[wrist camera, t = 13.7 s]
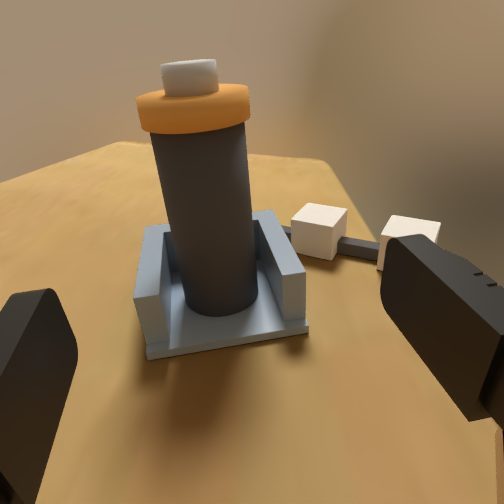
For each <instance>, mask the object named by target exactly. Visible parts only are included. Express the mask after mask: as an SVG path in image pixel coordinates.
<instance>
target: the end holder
mask: <svg viewBox="0 0 504 504" xmlns="http://www.w3.org/2000/svg"><path fill="white" fill-rule="evenodd" d="M252 219H253V231H254V243H255V255H256V267H257V279H258V296H257V298H256V300H255V301H254V302H253V303H252V304H251V305H250V306H249V307H248V308H246V309H244V310H243V311H241V312H238V313H236V314H232V315H229V316H222V317H209V316H204V315H200V314H198V313H196V312H194V311H192V310H191V309H190V308H189V307H188V305H187V304H186V300H185V296H184V291H183V286H182V282H181V277H180V272H179V268H178V263H177V258H176V253H175V249H174V244H173V239H172V235H171V230H170V225H169V223H167V224H159V225H152V226H145V231H144V237H143V243H142V249H141V255H140V261H139V267H138V272H137V278H136V284H135V290H134V296H133V300H134V303H135V307H136V310H137V314H138V317H139V320H140V324H141V327H142V331H143V334H144V338H145V341H146V344H147V346H146V356H147V359H148V360H153V359H159V358H165V357H171V356H176V355H182V354H188V353H194V352H200V351H205V350H211V349H217V348H223V347H228V346H234V345H240V344H246V343H252V342H257V341H263V340H269V339H275V338H281V337H286V336H292V335H298V334H304V333H309V325H308V323H307V320H306V318H305V310H306V271H305V269H304V267H303V266H302V264H301V262H300V260H299V258H298V256H297V254H296V252H295V251H294V249H293V247H292V245H291V243H290V241H289V239H288V238H287V236H286V234H285V232H284V230H283V228H282V226H281V225H280V223H279V221H278V219H277V217H276V215H275V213H274V211H273V210H264V211H257V212H252Z"/></svg>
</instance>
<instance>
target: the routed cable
mask: <svg viewBox="0 0 504 504" xmlns="http://www.w3.org/2000/svg"><path fill="white" fill-rule="evenodd" d="M347 210H348V209H344V208H338V207H332V206H326V205H319V204H313V203H307V204H306V205H305V206H304V207H303V208H302V209H301V210H300V211H299V212H298V213H297V214H296V215H295V216H294V217H293V218H292V219H291V227H287V226H282V225H281V226H282V228H283V230H284V232H285V234H286V236H287V238H288V239H289V241H290V243H291V245H292V247H293V249H294V251H295V252H296V253H300V254H304V255H308V256H313V257H317V258H321V259H326V260H330V261H331V260H332V259H333V258H334V256H335V255H336V253H339V254H344V255H349V256H354V257H359V258H364V259H369V260H374V261H377V269H376V270H381V271H383V265H384V258H385V250H386V245H387V242H388V241H389V239H391V238H394V237H401V236H408V235H414V234H423V235H425V236H427V237H428V238H429V239H430V240H431V241H433V242H434V243H435V244H436V243H437V238H438V234H439V229H440V224H441V223H440V222H434V221H427V220H421V219H415V218H409V217H402V216H396V215H392V216H391V218H390V219H389V221H388V223H387V225H386V226H385V228H384V230H383V232H382V234H381V238H380V243H377V242H371V241H365V240H360V239H354V238H349V237H346V224H347Z"/></svg>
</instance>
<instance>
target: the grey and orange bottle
mask: <svg viewBox="0 0 504 504" xmlns="http://www.w3.org/2000/svg"><path fill="white" fill-rule="evenodd" d="M160 68H161V74H162V79H163V85H164V90H159V91H154V92H151V93H146V94H143V95H140V96H138V97H137V98H136V99H135V100H136V104H137V109H138V113H139V118H140V122H141V127H142V129H143V130H144V131H147V132H150V136H151V141H152V146H153V151H154V155H155V160H156V165H157V169H158V174H159V179H160V183H161V188H162V193H163V197H164V202H165V207H166V211H167V216H168V221H169V225H170V230H171V235H172V239H173V244H174V249H175V253H176V258H177V263H178V268H179V272H180V277H181V282H182V286H183V291H184V296H185V300H186V304H187V305H188V307H189V308H190V309H191V310H192V311H194V312H196V313H198V314H200V315H204V316H209V317H222V316H229V315H232V314H236V313H238V312H241V311H243V310H244V309H246V308H248V307H249V306H250V305H251V304H252V303H253V302H254V301H255V300H256V298H257V296H258V279H257V267H256V255H255V243H254V231H253V219H252V207H251V196H250V184H249V172H248V160H247V149H246V136H245V124H244V121H246V120H248V119H249V118H250V105H249V92H248V87H247V86H245V85H240V84H218V76H217V66H216V60H215V59H205V60H191V61H180V62H172V63H166V64H162V65H160Z"/></svg>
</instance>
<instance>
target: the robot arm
mask: <svg viewBox="0 0 504 504" xmlns="http://www.w3.org/2000/svg"><path fill="white" fill-rule="evenodd" d="M380 295H381V300H382V304H383V307H384V309H385V311H386V312H387V314H388V315H389V317H390V318H391V319H392V321H393V322H394V323H395V324H396V326H397V327H398V328H399V330H400V331H401V332H402V334H403V335H404V336H405V338H406V339H407V340H408V342H409V343H410V344H411V346H412V347H413V348H414V350H415V351H416V352H417V354H418V355H419V356H420V358H421V359H422V360H423V362H424V363H425V364H426V366H427V367H428V368H429V370H430V371H431V372H432V374H433V375H434V376H435V378H436V379H437V380H438V382H439V383H440V384H441V385H442V387H443V388H444V389H445V391H446V392H447V393H448V395H449V396H450V397H451V399H452V400H453V401H454V403H455V404H456V405H457V407H458V408H459V409H460V411H461V412H462V413H463V415H464V416H465V417H466V419H467V420H468V421H469V422H471V421H476V420H480V419H485V418H490V417H492V418H493V419H494V420H495V422H496V423H497V424H498V425H499V426H498V429H497V431H496V434H495V449H496V479H497V504H504V288H503V287H501V286H497V283H496V282H495V281H494V280H492V279H491V278H490V277H489V276H487V275H483V272H482V271H481V270H480V269H478V268H477V267H476V266H475V265H473V264H472V263H471V262H469V261H468V260H467V259H464V258H462V257H460V256H458V255H456V254H453V253H451V252H449V251H446V250H443V249H441V248H440V247H439V246H438V245H436V244H435V243H434V242H433V241H431V240H430V239H429V238H428V237H427V236H425V235H423V234H414V235H408V236H401V237H394V238H391V239H389V241H388V242H387V245H386V250H385V258H384V265H383V272H382V280H381V287H380ZM77 361H78V348H77V342H76V339H75V336H74V334H73V331H72V329H71V327H70V324H69V322H68V319H67V317H66V315H65V312H64V310H63V307H62V305H61V303H60V300H59V298H58V296H57V294H56V292H55V291H54V290H53V289H51V288H47V289H41V290H34V291H27V292H21V293H15V294H12V295H11V296H10V297H9V299H8V301H7V302H6V304H5V305H4V307H3V308H2V310H1V311H0V504H35V502H36V498H37V495H38V492H39V488H40V485H41V482H42V478H43V475H44V472H45V468H46V465H47V462H48V459H49V455H50V452H51V449H52V445H53V442H54V439H55V435H56V432H57V429H58V426H59V422H60V419H61V416H62V412H63V409H64V406H65V402H66V399H67V396H68V393H69V389H70V386H71V383H72V379H73V376H74V373H75V369H76V366H77Z"/></svg>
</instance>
